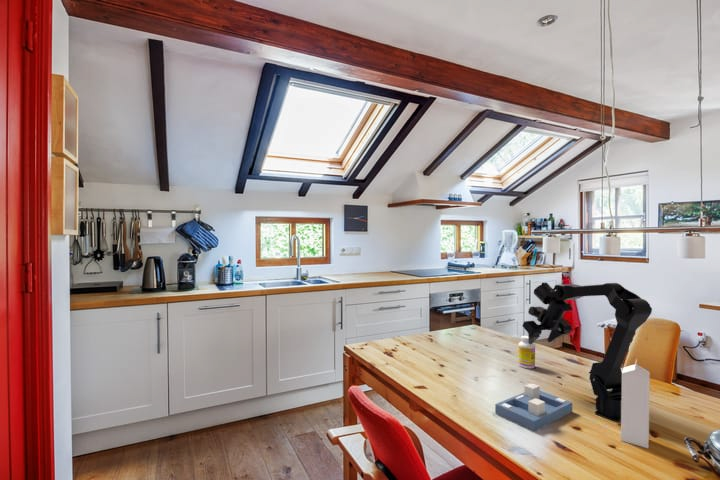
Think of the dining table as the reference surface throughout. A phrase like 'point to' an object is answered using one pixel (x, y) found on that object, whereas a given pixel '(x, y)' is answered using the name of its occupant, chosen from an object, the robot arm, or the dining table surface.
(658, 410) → the dining table surface
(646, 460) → the dining table surface
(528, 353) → the supplement bottle
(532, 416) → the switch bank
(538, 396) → the tab
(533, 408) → the tab
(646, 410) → the milk
